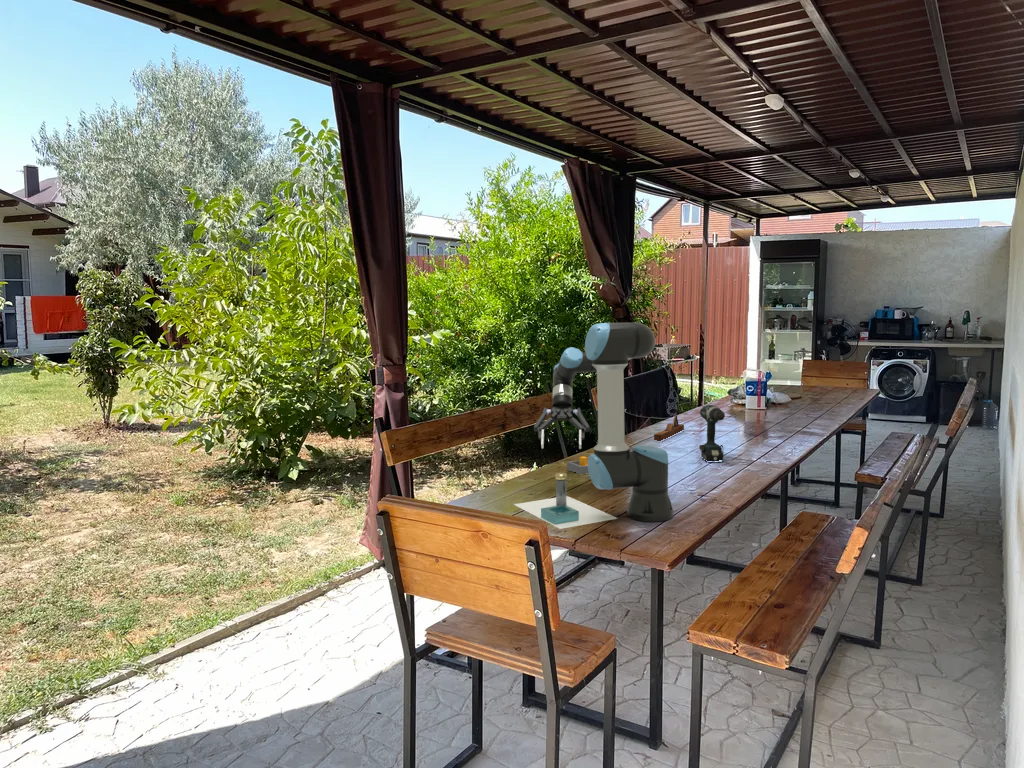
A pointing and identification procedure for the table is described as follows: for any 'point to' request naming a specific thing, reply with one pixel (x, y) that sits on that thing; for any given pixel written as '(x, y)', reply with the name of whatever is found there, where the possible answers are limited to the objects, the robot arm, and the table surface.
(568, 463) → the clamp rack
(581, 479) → the table surface
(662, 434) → the hand plane
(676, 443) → the table surface
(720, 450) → the power drill
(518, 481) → the table surface
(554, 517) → the teal square frame
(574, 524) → the board
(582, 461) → the pipe clamp
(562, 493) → the gold capped grey cylinder
